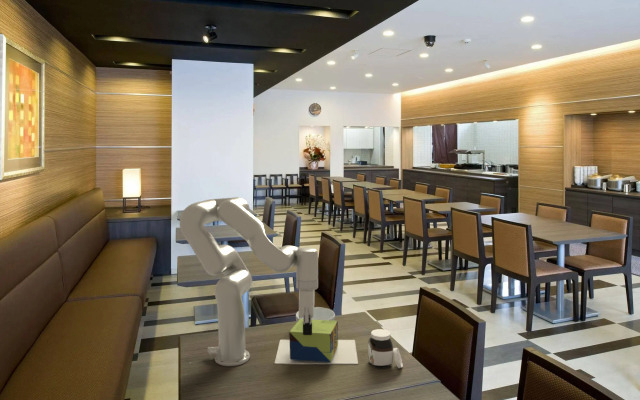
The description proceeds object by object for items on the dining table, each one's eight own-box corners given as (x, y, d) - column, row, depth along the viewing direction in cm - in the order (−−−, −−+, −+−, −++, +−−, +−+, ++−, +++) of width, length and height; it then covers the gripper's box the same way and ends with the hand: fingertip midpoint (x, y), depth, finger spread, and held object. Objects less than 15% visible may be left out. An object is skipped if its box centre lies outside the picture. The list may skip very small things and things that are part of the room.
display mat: (274, 363, 165) (274, 363, 165) (280, 340, 185) (280, 339, 185) (358, 364, 165) (358, 363, 165) (354, 340, 185) (354, 339, 185)
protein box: (331, 333, 162) (338, 320, 177) (288, 331, 165) (299, 318, 180) (331, 362, 162) (338, 346, 178) (289, 360, 165) (299, 344, 181)
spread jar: (365, 358, 169) (365, 328, 168) (394, 355, 172) (394, 325, 170) (377, 374, 158) (377, 342, 156) (407, 370, 160) (408, 338, 159)
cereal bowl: (293, 323, 203) (293, 308, 202) (330, 320, 206) (330, 305, 205) (298, 339, 186) (298, 322, 185) (339, 336, 189) (339, 319, 188)
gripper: (297, 277, 167) (298, 325, 169) (294, 290, 152) (295, 343, 154) (318, 277, 167) (318, 325, 169) (317, 290, 152) (317, 343, 154)
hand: (307, 334), depth 162 cm, fingers closed
